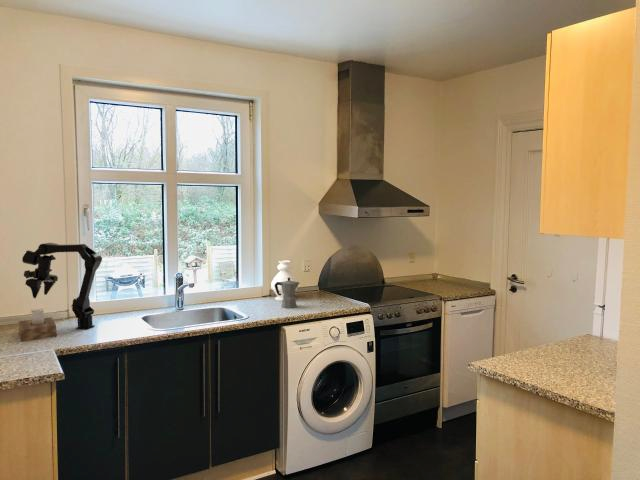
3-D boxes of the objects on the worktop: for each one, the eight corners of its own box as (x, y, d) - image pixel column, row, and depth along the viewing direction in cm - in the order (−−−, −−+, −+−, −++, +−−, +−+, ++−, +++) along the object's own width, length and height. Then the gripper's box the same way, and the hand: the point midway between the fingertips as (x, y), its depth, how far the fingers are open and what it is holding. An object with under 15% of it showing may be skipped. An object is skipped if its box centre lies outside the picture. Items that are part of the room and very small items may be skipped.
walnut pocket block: (52, 327, 260) (52, 317, 259) (56, 336, 243) (56, 325, 243) (18, 331, 252) (18, 321, 251) (20, 341, 235) (20, 330, 235)
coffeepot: (298, 304, 312) (298, 276, 311) (301, 307, 303) (300, 278, 301) (273, 305, 309) (273, 277, 307) (275, 309, 300) (275, 279, 298)
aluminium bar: (43, 328, 251) (42, 308, 250) (44, 330, 247) (43, 310, 246) (32, 329, 248) (31, 309, 247) (32, 332, 244) (31, 311, 243)
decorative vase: (274, 295, 340) (273, 259, 338) (300, 296, 339) (299, 259, 336) (268, 301, 323) (268, 262, 321) (296, 301, 321) (295, 263, 319)
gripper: (40, 261, 267) (36, 289, 269) (17, 266, 249) (13, 296, 250) (60, 265, 267) (56, 294, 268) (38, 270, 248) (34, 301, 250)
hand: (39, 296), depth 259 cm, fingers open, 9 cm apart
